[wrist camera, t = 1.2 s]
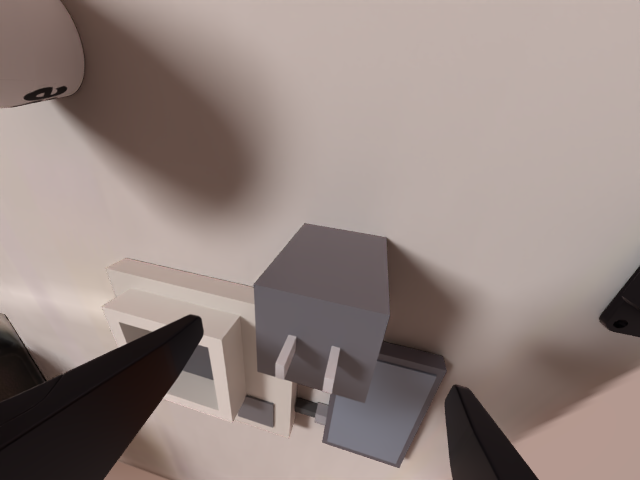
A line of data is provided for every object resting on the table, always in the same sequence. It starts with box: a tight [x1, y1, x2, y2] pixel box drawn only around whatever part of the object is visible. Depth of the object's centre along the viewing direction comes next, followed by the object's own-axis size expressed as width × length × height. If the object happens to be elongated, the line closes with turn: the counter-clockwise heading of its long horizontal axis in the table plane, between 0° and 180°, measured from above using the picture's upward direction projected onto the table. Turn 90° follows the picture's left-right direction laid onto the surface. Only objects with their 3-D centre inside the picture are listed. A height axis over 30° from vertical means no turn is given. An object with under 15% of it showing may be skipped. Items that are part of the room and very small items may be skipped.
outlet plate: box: [101, 258, 297, 438], centre depth 18 cm, size 14×14×4 cm
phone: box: [322, 341, 447, 468], centre depth 17 cm, size 6×12×1 cm, turn 175°
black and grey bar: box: [295, 398, 329, 425], centre depth 20 cm, size 3×1×1 cm, turn 85°
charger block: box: [254, 223, 390, 403], centre depth 11 cm, size 4×4×7 cm
